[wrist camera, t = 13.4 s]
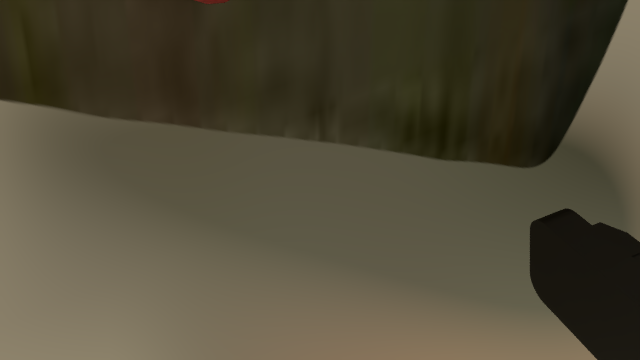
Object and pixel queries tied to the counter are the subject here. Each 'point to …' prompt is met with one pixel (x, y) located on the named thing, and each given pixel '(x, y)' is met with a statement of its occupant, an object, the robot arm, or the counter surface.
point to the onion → (212, 1)
